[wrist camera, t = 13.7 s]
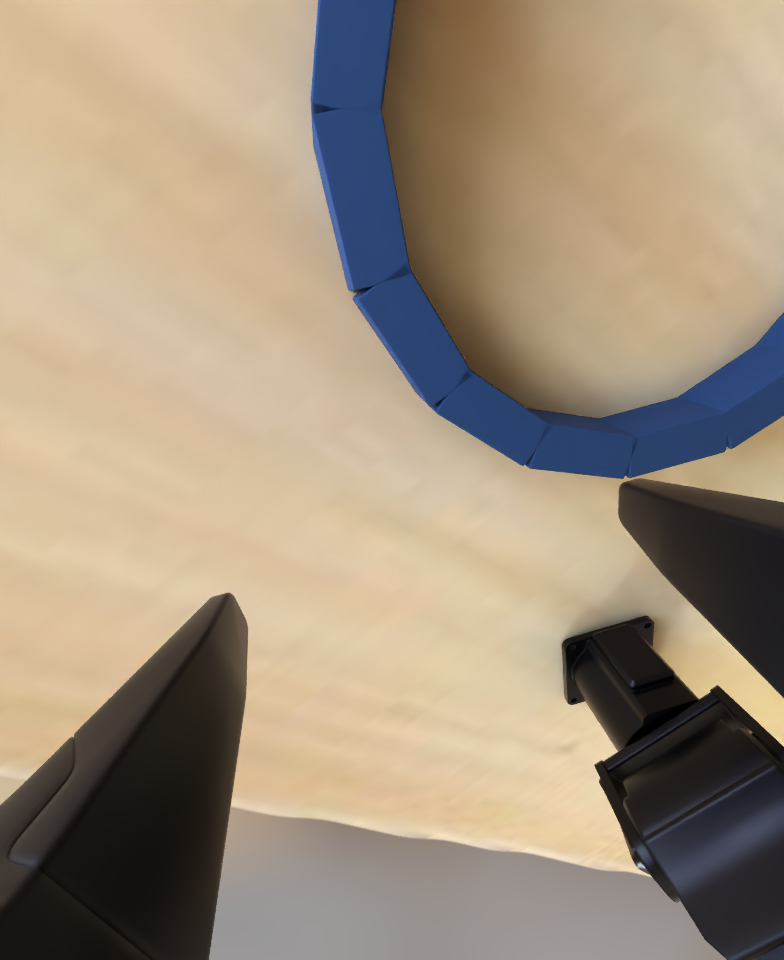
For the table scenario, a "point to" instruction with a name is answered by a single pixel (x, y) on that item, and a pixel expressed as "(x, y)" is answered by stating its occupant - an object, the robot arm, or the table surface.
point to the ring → (420, 332)
